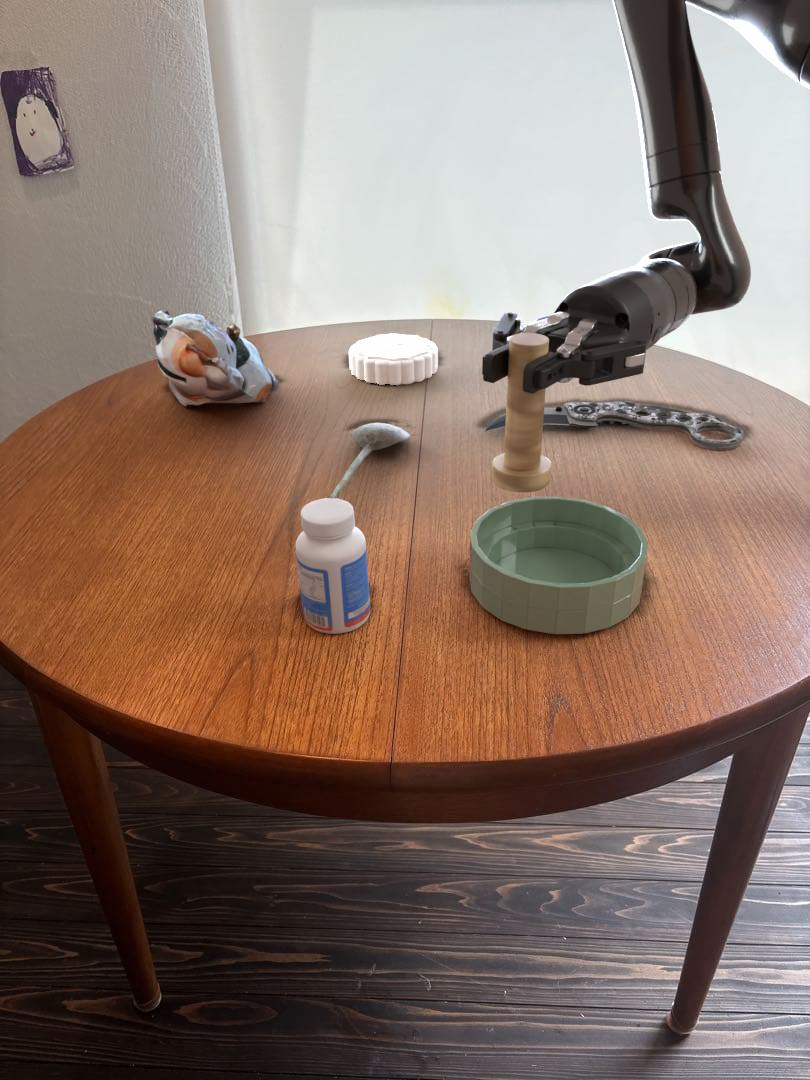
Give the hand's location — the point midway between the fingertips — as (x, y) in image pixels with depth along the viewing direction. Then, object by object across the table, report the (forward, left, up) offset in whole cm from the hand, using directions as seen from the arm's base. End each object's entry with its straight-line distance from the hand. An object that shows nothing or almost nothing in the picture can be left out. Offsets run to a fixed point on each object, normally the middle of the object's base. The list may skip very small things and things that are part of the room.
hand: (507, 375), depth 65 cm
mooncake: (+9, -51, -18) cm, 54 cm away
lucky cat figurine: (+31, -42, -18) cm, 55 cm away
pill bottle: (+14, +5, -18) cm, 23 cm away
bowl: (-4, +2, -18) cm, 19 cm away
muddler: (-2, -2, -10) cm, 10 cm away
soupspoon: (+13, -20, -18) cm, 30 cm away
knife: (-16, -30, -18) cm, 38 cm away
